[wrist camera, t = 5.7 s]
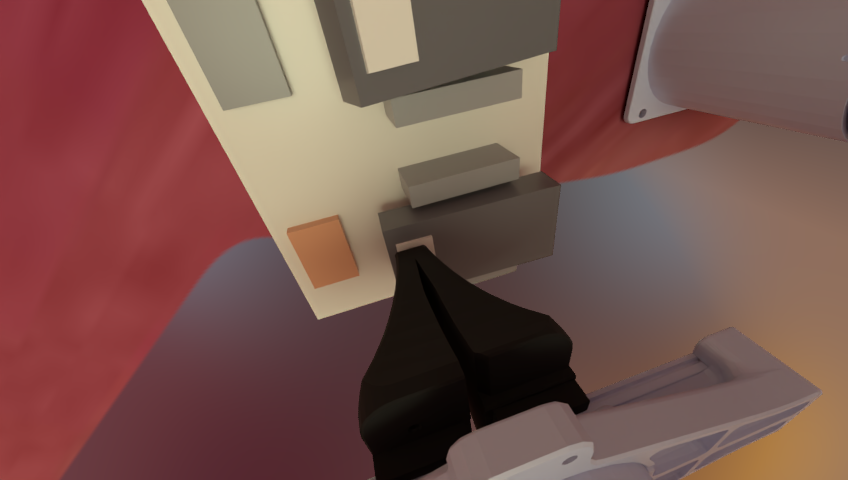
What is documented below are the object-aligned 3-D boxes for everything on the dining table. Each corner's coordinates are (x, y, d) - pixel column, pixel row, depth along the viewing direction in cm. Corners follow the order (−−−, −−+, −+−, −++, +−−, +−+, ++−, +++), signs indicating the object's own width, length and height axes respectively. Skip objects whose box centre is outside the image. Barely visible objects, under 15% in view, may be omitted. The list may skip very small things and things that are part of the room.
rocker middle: (528, -87, 10) (574, -107, 9) (524, 50, 13) (559, 50, 11) (293, -70, 8) (311, -95, 6) (343, 101, 10) (363, 108, 9)
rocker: (541, 171, 15) (562, 186, 13) (536, 238, 17) (554, 256, 16) (377, 212, 14) (382, 233, 13) (395, 277, 16) (401, 300, 15)
